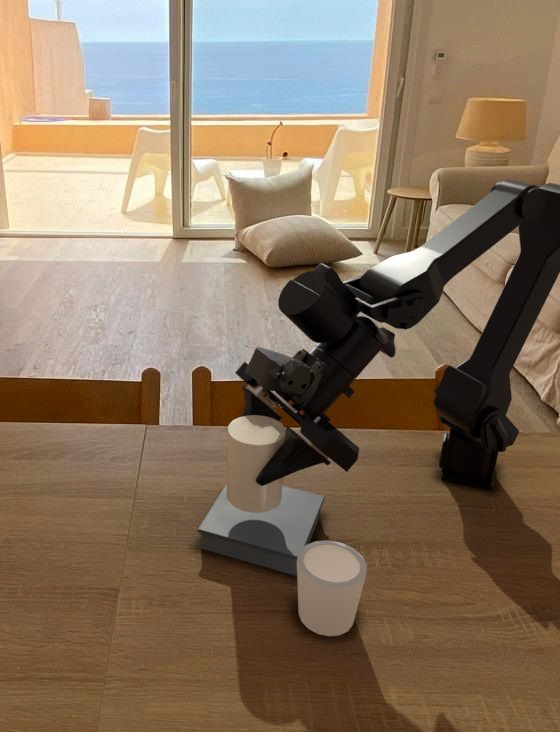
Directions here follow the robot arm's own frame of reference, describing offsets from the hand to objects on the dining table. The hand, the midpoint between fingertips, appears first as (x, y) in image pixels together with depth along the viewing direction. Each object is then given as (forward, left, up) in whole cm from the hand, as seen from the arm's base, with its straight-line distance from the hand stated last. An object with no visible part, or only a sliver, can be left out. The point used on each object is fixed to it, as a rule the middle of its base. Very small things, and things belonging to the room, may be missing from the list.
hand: (244, 467), depth 79 cm
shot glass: (-12, +8, -10) cm, 18 cm away
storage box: (-2, -2, -10) cm, 10 cm away
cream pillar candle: (-1, -1, -4) cm, 5 cm away
